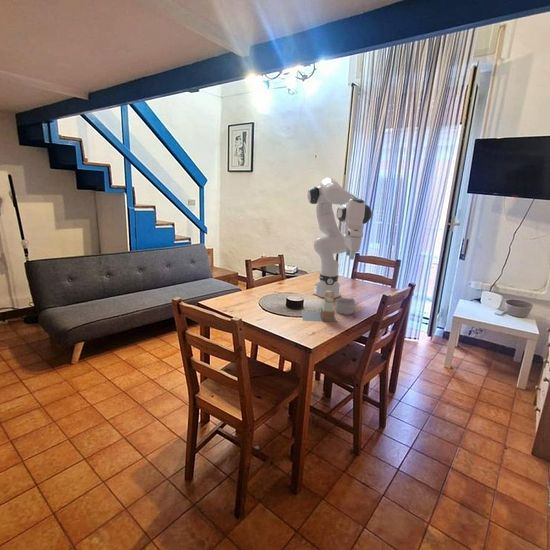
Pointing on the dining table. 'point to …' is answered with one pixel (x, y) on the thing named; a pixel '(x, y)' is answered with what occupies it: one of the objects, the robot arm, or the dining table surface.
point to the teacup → (345, 306)
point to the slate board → (313, 316)
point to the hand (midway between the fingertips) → (349, 257)
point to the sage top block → (328, 306)
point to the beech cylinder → (329, 296)
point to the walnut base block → (327, 315)
